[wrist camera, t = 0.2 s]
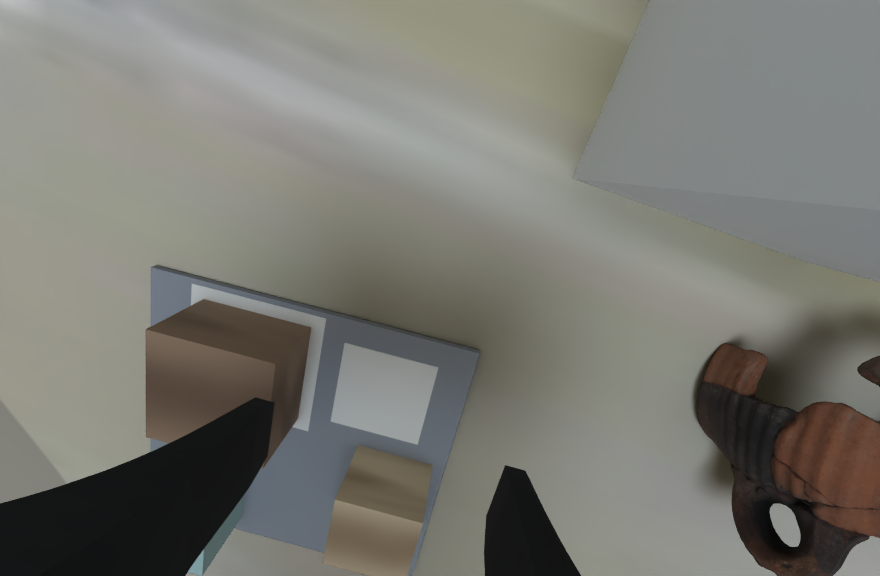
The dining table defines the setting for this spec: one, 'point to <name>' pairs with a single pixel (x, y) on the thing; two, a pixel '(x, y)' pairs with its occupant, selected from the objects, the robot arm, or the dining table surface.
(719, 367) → the pottery mug
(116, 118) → the dining table surface
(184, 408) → the walnut base
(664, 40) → the milk
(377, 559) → the oak block
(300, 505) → the blueprint mat
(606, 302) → the dining table surface
